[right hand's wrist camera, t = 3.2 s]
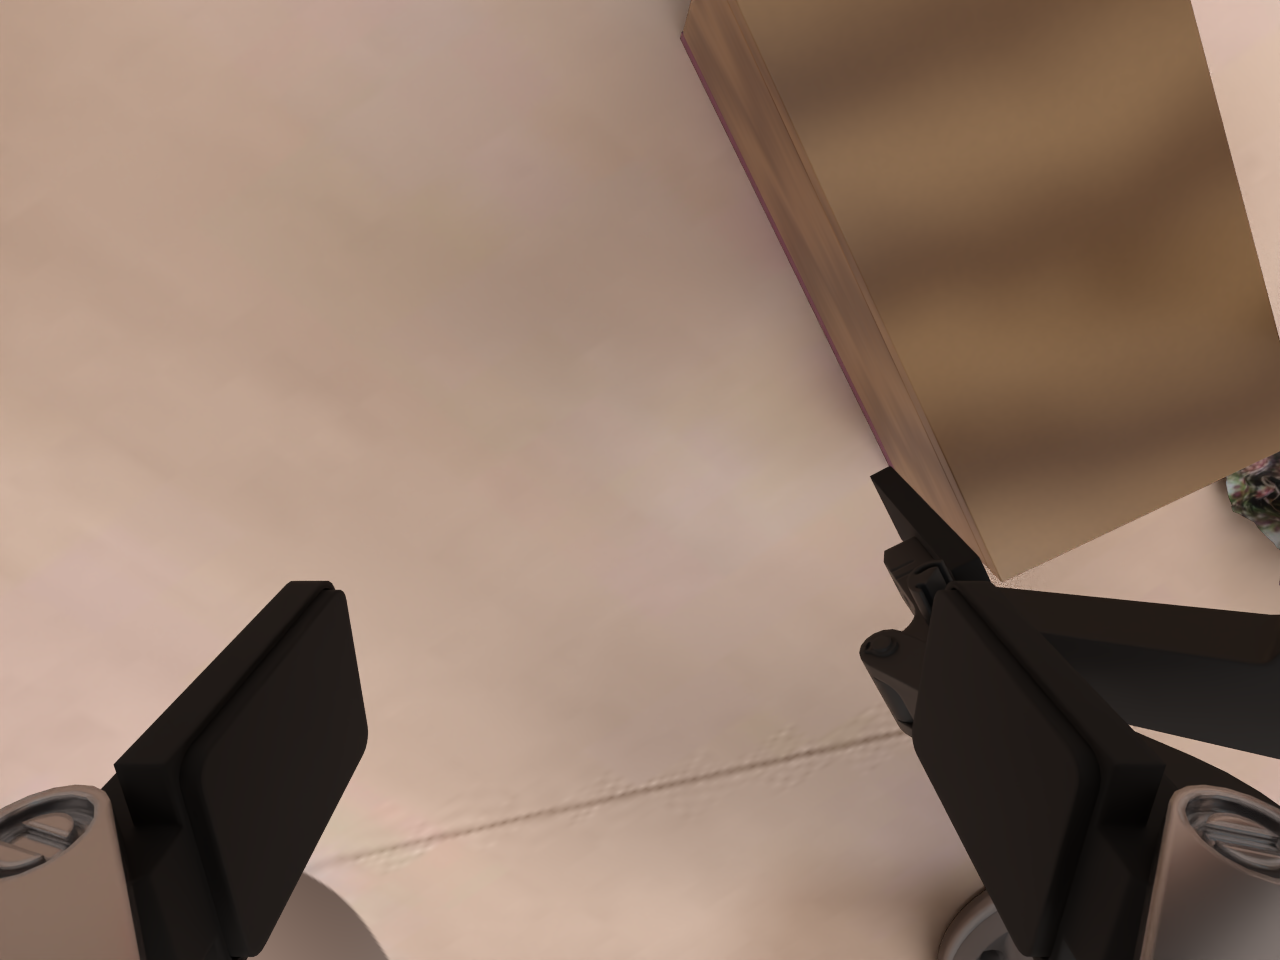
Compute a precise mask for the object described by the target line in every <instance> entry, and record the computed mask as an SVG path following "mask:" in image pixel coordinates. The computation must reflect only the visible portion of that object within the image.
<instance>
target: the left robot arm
mask: <svg viewBox="0 0 1280 960" xmlns="http://www.w3.org/2000/svg"><path fill="white" fill-rule="evenodd" d="M870 477H871V479H872V481H873V483H874V485H875V487H876V489H877V491H878V493H879V495H880V497H881V499H882V501H883V503H884V505H885V507H886V509H887V511H888V513H889V515H890V517H891V519H892V521H893V523H894V525H895V527H896V529H897V531H898V533H899V535H900V537H901V539H902V540H903V542H902V543H900V544H898V545H896V546H894V547H892V548H889V549H887V550H885V551H884V563H885V565H886V567H887V569H888V571H889V573H890V575H891V577H892V579H893V581H894V583H895V585H896V587H897V589H898V590H899V592H900V594H901V596H902V598H903V600H904V601H905V603H906V604H907V606H908V607H909V608H910V610H911V612H912V613H913V614H914V619H913V620H912V622H911V623H910V625H909V626H908V627H907V628H906V629H905V630H903V631H898V630H894V629H890V630H882V631H880V632H877V633H874V634H873V635H871V636H870V637H868V638H867V639H866V640H865V641H864V643H863V644H862V645H861V648H860V652H859V653H860V657H861V660H862V661H863V663H864V665H865V667H866V669H867V670H868V672H869V674H870V676H871V677H872V679H873V681H874V683H875V685H876V686H877V688H878V690H879V692H880V693H881V695H882V697H883V699H884V701H885V702H886V704H887V706H888V708H889V709H890V711H891V713H892V715H893V717H894V718H895V720H896V722H897V724H898V725H899V727H900V729H901V730H902V731H903V732H905V733H906V734H907V735H909V736H911V737H912V726H913V720H914V714H915V708H916V702H917V696H918V690H919V684H920V678H921V672H922V666H923V660H924V654H925V648H926V642H927V636H928V630H929V624H930V618H931V612H932V606H933V600H934V596H935V594H936V592H937V591H939V590H945V588H946V586H947V584H948V583H949V582H951V581H989V582H991V581H990V579H989V577H988V575H987V572H986V570H985V568H984V566H983V564H982V562H981V559H980V557H979V556H978V555H977V554H976V553H975V552H974V551H973V550H972V549H971V548H970V547H969V546H968V545H967V544H966V543H965V542H964V541H963V540H962V538H961V537H960V536H959V535H958V534H957V533H956V532H955V531H954V530H953V529H952V528H951V527H950V526H949V525H948V524H947V523H946V522H945V521H944V520H943V519H942V518H941V517H940V516H939V515H938V514H937V513H936V512H935V511H934V510H933V509H932V508H931V507H930V506H929V505H928V503H927V502H926V501H925V500H924V499H923V498H922V497H921V496H920V495H919V494H918V493H917V492H916V491H915V490H914V489H913V488H912V487H911V486H910V485H909V484H908V483H907V482H906V481H905V480H904V479H903V478H902V477H901V476H900V475H899V474H898V473H897V472H896V471H895V470H894V469H893V467H892V466H889V467H887V468H885V469H883V470H881V471H879V472H877V473H875V474H873V475H871V476H870ZM996 588H997V589H998V590H999V591H1000V592H1001V593H1002V594H1003V595H1004V596H1005V597H1006V598H1007V599H1008V600H1009V601H1010V602H1011V603H1012V604H1013V605H1014V606H1015V607H1016V608H1017V609H1018V610H1019V611H1020V613H1021V614H1022V615H1023V616H1024V617H1025V618H1026V619H1027V620H1028V621H1029V622H1030V623H1031V624H1032V625H1033V626H1034V627H1035V628H1036V629H1037V630H1038V631H1039V632H1040V633H1041V634H1042V635H1043V636H1044V638H1045V639H1046V640H1047V641H1048V642H1049V643H1050V644H1051V645H1052V646H1053V647H1054V648H1055V649H1056V650H1057V651H1058V652H1059V653H1060V654H1061V655H1062V656H1063V657H1064V658H1065V659H1066V660H1067V661H1068V663H1069V664H1070V665H1071V666H1072V667H1073V668H1074V669H1075V670H1076V671H1077V672H1078V673H1079V674H1080V675H1081V676H1082V677H1083V678H1084V679H1085V680H1086V681H1087V682H1088V683H1089V684H1090V685H1091V686H1092V688H1093V689H1094V690H1095V691H1096V692H1097V693H1098V694H1099V695H1100V696H1101V697H1102V698H1103V699H1104V700H1105V701H1106V702H1107V703H1108V704H1109V705H1110V706H1111V707H1112V708H1113V709H1114V710H1115V711H1116V713H1117V714H1118V715H1119V716H1120V717H1121V718H1122V719H1123V720H1124V721H1125V722H1126V723H1127V724H1128V725H1133V726H1137V727H1141V728H1146V729H1150V730H1154V731H1159V732H1163V733H1167V734H1172V735H1176V736H1180V737H1185V738H1189V739H1194V740H1198V741H1202V742H1207V743H1211V744H1215V745H1220V746H1224V747H1228V748H1233V749H1237V750H1241V751H1246V752H1250V753H1254V754H1259V755H1263V756H1267V757H1272V758H1276V759H1280V615H1267V614H1257V613H1248V612H1238V611H1228V610H1218V609H1208V608H1198V607H1188V606H1179V605H1169V604H1159V603H1149V602H1139V601H1129V600H1119V599H1110V598H1100V597H1090V596H1080V595H1070V594H1060V593H1051V592H1041V591H1031V590H1021V589H1011V588H1001V587H996ZM1136 733H1137V732H1136ZM1137 734H1138V735H1139V736H1140V738H1141V739H1142V740H1143V741H1144V742H1145V743H1146V744H1147V745H1148V746H1149V747H1150V748H1151V749H1152V750H1153V751H1154V752H1155V753H1156V754H1157V755H1158V756H1159V757H1160V758H1161V759H1162V760H1163V762H1164V763H1165V764H1166V767H1165V770H1164V774H1165V775H1166V776H1167V777H1168V778H1169V779H1170V780H1171V781H1172V782H1173V783H1174V784H1175V785H1176V787H1177V788H1178V789H1181V788H1184V787H1186V786H1193V785H1210V786H1217V787H1223V788H1228V789H1231V790H1235V791H1238V792H1241V793H1244V794H1247V795H1251V796H1253V797H1255V798H1257V799H1259V800H1262V801H1264V802H1266V803H1268V804H1270V805H1272V806H1275V807H1277V808H1278V809H1280V806H1279V805H1278V804H1276V803H1275V802H1273V801H1272V800H1271V799H1269V798H1268V797H1266V796H1265V795H1264V794H1262V793H1261V792H1259V791H1257V790H1256V789H1254V788H1252V787H1251V786H1249V785H1247V784H1245V783H1244V782H1242V781H1240V780H1239V779H1237V778H1235V777H1234V776H1232V775H1230V774H1228V773H1227V772H1225V771H1223V770H1220V769H1218V768H1216V767H1214V766H1212V765H1210V764H1208V763H1206V762H1204V761H1202V760H1200V759H1197V758H1195V757H1193V756H1191V755H1189V754H1186V753H1184V752H1182V751H1179V750H1177V749H1175V748H1172V747H1170V746H1168V745H1165V744H1163V743H1161V742H1158V741H1156V740H1154V739H1151V738H1149V737H1147V736H1144V735H1142V734H1140V733H1137ZM938 960H1033V958H1032V957H1026V956H1023V955H1022V954H1021V953H1020V952H1019V951H1018V949H1017V948H1016V946H1015V944H1014V942H1013V940H1012V938H1011V937H1010V935H1009V933H1008V931H1007V929H1006V927H1005V925H1004V923H1003V921H1002V919H1001V917H1000V915H999V913H998V911H997V909H996V907H995V905H994V903H993V902H992V900H991V898H990V896H989V894H988V892H987V890H985V891H984V892H982V893H981V894H979V895H978V896H977V897H975V898H974V899H973V900H972V901H971V902H970V903H968V904H967V905H966V906H965V907H964V908H963V909H962V910H961V911H960V912H959V913H958V915H957V916H956V917H955V919H954V920H953V921H952V923H951V924H950V926H949V927H948V929H947V931H946V933H945V935H944V937H943V939H942V942H941V944H940V948H939V952H938Z"/></svg>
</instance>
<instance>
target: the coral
mask: <svg viewBox="0 0 1280 960" xmlns="http://www.w3.org/2000/svg"><path fill="white" fill-rule="evenodd" d="M1226 478H1227V481H1226V486H1227V491H1228V496H1229V499H1230V501H1231V504H1232V510H1233V512H1236V513H1239V514H1241V515H1242V516H1244V517H1246V518H1247V519H1249V520H1251V521H1253V522H1254V523H1255V524H1256V525H1257V527H1258V528H1259V529H1260V530H1261V531H1262V532H1263V533H1264V535H1265V536H1266V537H1268V538H1269V539H1270V540H1271V541H1272V542H1273V543H1274V544H1275V546H1276V547H1277V548H1278V549H1280V451H1279V452H1277V453H1275V454H1273V455H1271V456H1269V457H1267V458H1265V459H1262V460H1260V461H1258V462H1256V463H1254V464H1252V465H1250V466H1248V467H1245V468H1243V469H1241V470H1239V471H1237V472H1235V473H1233V474H1231V475H1229V476H1226ZM1279 585H1280V582H1279Z"/></svg>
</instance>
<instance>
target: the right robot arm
mask: <svg viewBox="0 0 1280 960" xmlns="http://www.w3.org/2000/svg"><path fill="white" fill-rule="evenodd" d="M367 739H368V726H367V720H366V714H365V708H364V702H363V696H362V690H361V684H360V678H359V672H358V666H357V660H356V654H355V648H354V642H353V636H352V630H351V624H350V618H349V612H348V606H347V600H346V596H345V594H344V592H343V591H341V590H335V588H334V586H333V584H332V583H331V582H329V581H291V582H289V583H288V584H286V585H285V586H284V588H283V589H282V590H281V591H280V592H279V593H278V594H277V595H276V596H275V597H274V598H273V599H272V600H271V601H270V602H269V603H268V604H267V605H266V606H265V607H264V608H263V609H262V610H261V611H260V613H259V614H258V615H257V616H256V617H255V618H254V619H253V620H252V621H251V622H250V623H249V624H248V625H247V626H246V627H245V628H244V629H243V630H242V631H241V632H240V633H239V634H238V635H237V636H236V638H235V639H234V640H233V641H232V642H231V643H230V644H229V645H228V646H227V647H226V648H225V649H224V650H223V651H222V652H221V653H220V654H219V655H218V656H217V657H216V658H215V659H214V660H213V661H212V663H211V664H210V665H209V666H208V667H207V668H206V669H205V670H204V671H203V672H202V673H201V674H200V675H199V676H198V677H197V678H196V679H195V680H194V681H193V682H192V683H191V684H190V685H189V686H188V688H187V689H186V690H185V691H184V692H183V693H182V694H181V695H180V696H179V697H178V698H177V699H176V700H175V701H174V702H173V703H172V704H171V705H170V706H169V707H168V708H167V709H166V710H165V711H164V713H163V714H162V715H161V716H160V717H159V718H158V719H157V720H156V721H155V722H154V723H153V724H152V725H151V726H150V727H149V728H148V729H147V730H146V731H145V732H144V733H143V734H142V735H141V736H140V738H139V739H138V740H137V741H136V742H135V743H134V744H133V745H132V746H131V747H130V748H129V749H128V750H127V751H126V752H125V753H124V754H123V755H122V756H121V757H120V758H119V759H118V760H117V762H116V763H115V764H114V767H115V770H116V774H115V775H114V776H113V777H112V778H111V779H110V780H109V781H108V782H107V783H106V784H105V785H104V787H103V788H102V789H99V788H96V787H94V786H87V785H70V786H63V787H57V788H52V789H49V790H45V791H42V792H39V793H36V794H33V795H29V796H27V797H25V798H23V799H21V800H18V801H16V802H14V803H12V804H10V805H8V806H5V807H3V808H2V809H0V960H247V958H248V957H254V956H257V955H258V954H259V953H260V952H261V951H262V949H263V948H264V946H265V944H266V942H267V940H268V938H269V936H270V935H271V933H272V931H273V929H274V927H275V925H276V923H277V921H278V919H279V917H280V915H281V913H282V911H283V909H284V907H285V905H286V903H287V901H288V900H289V898H290V896H291V894H292V892H293V890H294V888H295V886H296V884H297V882H298V880H299V878H300V876H301V874H302V872H303V870H304V868H305V867H306V865H307V863H308V861H309V859H310V857H311V855H312V853H313V851H314V849H315V847H316V845H317V843H318V841H319V839H320V837H321V835H322V833H323V832H324V830H325V828H326V826H327V824H328V822H329V820H330V818H331V816H332V814H333V812H334V810H335V808H336V806H337V804H338V802H339V800H340V798H341V797H342V795H343V793H344V791H345V789H346V787H347V785H348V783H349V781H350V779H351V777H352V775H353V773H354V771H355V769H356V767H357V765H358V763H359V762H360V760H361V758H362V756H363V754H364V751H365V749H366V745H367ZM912 739H913V745H914V749H915V751H916V754H917V756H918V758H919V760H920V762H921V763H922V765H923V767H924V769H925V771H926V773H927V775H928V777H929V779H930V781H931V783H932V785H933V787H934V789H935V791H936V793H937V795H938V797H939V798H940V800H941V802H942V804H943V806H944V808H945V810H946V812H947V814H948V816H949V818H950V820H951V822H952V824H953V826H954V828H955V830H956V832H957V833H958V835H959V837H960V839H961V841H962V843H963V845H964V847H965V849H966V851H967V853H968V855H969V857H970V859H971V861H972V863H973V865H974V867H975V868H976V870H977V872H978V874H979V876H980V878H981V880H982V882H983V884H984V886H985V888H986V890H987V892H988V894H989V896H990V898H991V900H992V902H993V903H994V905H995V907H996V909H997V911H998V913H999V915H1000V917H1001V919H1002V921H1003V923H1004V925H1005V927H1006V929H1007V931H1008V933H1009V935H1010V937H1011V938H1012V940H1013V942H1014V944H1015V946H1016V948H1017V949H1018V951H1019V952H1020V953H1021V954H1022V955H1023V956H1026V957H1032V958H1033V960H1280V809H1278V808H1277V807H1275V806H1272V805H1270V804H1268V803H1266V802H1264V801H1262V800H1259V799H1257V798H1255V797H1253V796H1251V795H1247V794H1244V793H1241V792H1238V791H1235V790H1231V789H1228V788H1223V787H1217V786H1210V785H1193V786H1186V787H1184V788H1181V789H1178V788H1177V787H1176V785H1175V784H1174V783H1173V782H1172V781H1171V780H1170V779H1169V778H1168V777H1167V776H1166V775H1165V774H1164V770H1165V767H1166V764H1165V763H1164V762H1163V760H1162V759H1161V758H1160V757H1159V756H1158V755H1157V754H1156V753H1155V752H1154V751H1153V750H1152V749H1151V748H1150V747H1149V746H1148V745H1147V744H1146V743H1145V742H1144V741H1143V740H1142V739H1141V738H1140V736H1139V735H1138V734H1137V733H1136V732H1135V731H1134V730H1133V729H1132V728H1131V727H1130V726H1129V725H1128V724H1127V723H1126V722H1125V721H1124V720H1123V719H1122V718H1121V717H1120V716H1119V715H1118V714H1117V713H1116V711H1115V710H1114V709H1113V708H1112V707H1111V706H1110V705H1109V704H1108V703H1107V702H1106V701H1105V700H1104V699H1103V698H1102V697H1101V696H1100V695H1099V694H1098V693H1097V692H1096V691H1095V690H1094V689H1093V688H1092V686H1091V685H1090V684H1089V683H1088V682H1087V681H1086V680H1085V679H1084V678H1083V677H1082V676H1081V675H1080V674H1079V673H1078V672H1077V671H1076V670H1075V669H1074V668H1073V667H1072V666H1071V665H1070V664H1069V663H1068V661H1067V660H1066V659H1065V658H1064V657H1063V656H1062V655H1061V654H1060V653H1059V652H1058V651H1057V650H1056V649H1055V648H1054V647H1053V646H1052V645H1051V644H1050V643H1049V642H1048V641H1047V640H1046V639H1045V638H1044V636H1043V635H1042V634H1041V633H1040V632H1039V631H1038V630H1037V629H1036V628H1035V627H1034V626H1033V625H1032V624H1031V623H1030V622H1029V621H1028V620H1027V619H1026V618H1025V617H1024V616H1023V615H1022V614H1021V613H1020V611H1019V610H1018V609H1017V608H1016V607H1015V606H1014V605H1013V604H1012V603H1011V602H1010V601H1009V600H1008V599H1007V598H1006V597H1005V596H1004V595H1003V594H1002V593H1001V592H1000V591H999V590H998V589H997V588H996V586H995V585H994V584H992V583H991V582H989V581H951V582H949V583H948V584H947V586H946V588H945V590H939V591H937V592H936V594H935V596H934V600H933V606H932V612H931V618H930V624H929V630H928V636H927V642H926V648H925V654H924V660H923V666H922V672H921V678H920V684H919V690H918V696H917V702H916V708H915V714H914V720H913V726H912Z"/></svg>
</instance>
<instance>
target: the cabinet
mask: <svg viewBox="0 0 1280 960" xmlns="http://www.w3.org/2000/svg"><path fill="white" fill-rule="evenodd" d="M680 39H681V41H682V43H683V45H684V47H685V49H686V51H687V53H688V55H689V58H690V60H691V62H692V64H693V66H694V68H695V70H696V72H697V74H698V76H699V78H700V80H701V82H702V84H703V86H704V88H705V90H706V92H707V94H708V96H709V98H710V100H711V103H712V105H713V107H714V109H715V111H716V113H717V115H718V117H719V119H720V121H721V123H722V125H723V127H724V129H725V131H726V133H727V135H728V137H729V139H730V141H731V143H732V145H733V148H734V150H735V152H736V154H737V156H738V158H739V160H740V162H741V164H742V166H743V168H744V170H745V172H746V174H747V176H748V178H749V180H750V182H751V184H752V186H753V188H754V190H755V193H756V195H757V197H758V199H759V201H760V203H761V205H762V207H763V209H764V211H765V213H766V215H767V217H768V219H769V221H770V223H771V225H772V227H773V229H774V231H775V233H776V235H777V238H778V240H779V242H780V244H781V246H782V248H783V250H784V252H785V254H786V256H787V258H788V260H789V262H790V264H791V266H792V268H793V270H794V272H795V274H796V276H797V278H798V280H799V283H800V285H801V287H802V289H803V291H804V293H805V295H806V297H807V299H808V301H809V303H810V305H811V307H812V309H813V311H814V313H815V315H816V317H817V319H818V321H819V323H820V325H821V328H822V330H823V332H824V334H825V336H826V338H827V340H828V342H829V344H830V346H831V348H832V350H833V352H834V354H835V356H836V358H837V360H838V362H839V364H840V366H841V368H842V370H843V373H844V375H845V377H846V379H847V381H848V383H849V385H850V387H851V389H852V391H853V393H854V395H855V397H856V399H857V401H858V403H859V405H860V407H861V409H862V411H863V413H864V415H865V418H866V420H867V422H868V424H869V426H870V428H871V430H872V432H873V434H874V436H875V438H876V440H877V442H878V444H879V446H880V448H881V450H882V452H883V454H884V456H885V458H886V460H887V463H888V465H889V466H892V467H893V469H894V470H895V471H896V472H897V473H898V474H899V475H900V476H901V477H902V478H903V479H904V480H905V481H906V482H907V483H908V484H909V485H910V486H911V487H912V488H913V489H914V490H915V491H916V492H917V493H918V494H919V495H920V496H921V497H922V498H923V499H924V500H925V501H926V502H927V503H928V505H929V506H930V507H931V508H932V509H933V510H934V511H935V512H936V513H937V514H938V515H939V516H940V517H941V518H942V519H943V520H944V521H945V522H946V523H947V524H948V525H949V526H950V527H951V528H952V529H953V530H954V531H955V532H956V533H957V534H958V535H959V536H960V537H961V538H962V540H963V541H964V542H965V543H966V544H967V545H968V546H969V547H970V548H971V549H972V550H973V551H974V552H975V553H976V554H977V555H978V556H979V557H980V559H981V561H982V562H983V563H984V564H985V565H986V566H987V567H988V568H989V569H990V571H991V572H992V573H993V574H994V575H995V576H996V577H997V578H998V579H999V580H1000V581H1001V582H1004V581H1006V580H1008V579H1011V578H1013V577H1015V576H1017V575H1019V574H1021V573H1023V572H1025V571H1027V570H1030V569H1032V568H1034V567H1036V566H1038V565H1040V564H1042V563H1044V562H1047V561H1049V560H1051V559H1053V558H1055V557H1057V556H1059V555H1061V554H1063V553H1066V552H1068V551H1070V550H1072V549H1074V548H1076V547H1078V546H1080V545H1082V544H1085V543H1087V542H1089V541H1091V540H1093V539H1095V538H1097V537H1099V536H1102V535H1104V534H1106V533H1108V532H1110V531H1112V530H1114V529H1116V528H1118V527H1121V526H1123V525H1125V524H1127V523H1129V522H1131V521H1133V520H1135V519H1138V518H1140V517H1142V516H1144V515H1146V514H1148V513H1150V512H1152V511H1154V510H1157V509H1159V508H1161V507H1163V506H1165V505H1167V504H1169V503H1171V502H1174V501H1176V500H1178V499H1180V498H1182V497H1184V496H1186V495H1188V494H1190V493H1193V492H1195V491H1197V490H1199V489H1201V488H1203V487H1205V486H1207V485H1209V484H1212V483H1214V482H1216V481H1218V480H1220V479H1222V478H1224V477H1226V476H1229V475H1231V474H1233V473H1235V472H1237V471H1239V470H1241V469H1243V468H1245V467H1248V466H1250V465H1252V464H1254V463H1256V462H1258V461H1260V460H1262V459H1265V458H1267V457H1269V456H1271V455H1273V454H1275V453H1277V452H1279V451H1280V339H1279V336H1278V332H1277V328H1276V324H1275V320H1274V316H1273V313H1272V309H1271V305H1270V301H1269V297H1268V294H1267V290H1266V286H1265V282H1264V278H1263V275H1262V271H1261V267H1260V263H1259V259H1258V256H1257V252H1256V248H1255V244H1254V240H1253V237H1252V233H1251V229H1250V225H1249V221H1248V218H1247V214H1246V210H1245V206H1244V202H1243V199H1242V195H1241V191H1240V187H1239V183H1238V180H1237V176H1236V172H1235V168H1234V164H1233V161H1232V157H1231V153H1230V149H1229V145H1228V142H1227V138H1226V134H1225V130H1224V126H1223V122H1222V119H1221V115H1220V111H1219V107H1218V103H1217V100H1216V96H1215V92H1214V88H1213V84H1212V81H1211V77H1210V73H1209V69H1208V65H1207V62H1206V58H1205V54H1204V50H1203V46H1202V43H1201V39H1200V35H1199V31H1198V27H1197V24H1196V20H1195V16H1194V12H1193V8H1192V5H1191V1H1190V0H691V3H690V7H689V11H688V15H687V19H686V23H685V27H684V31H683V32H682V33H681V37H680Z"/></svg>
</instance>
